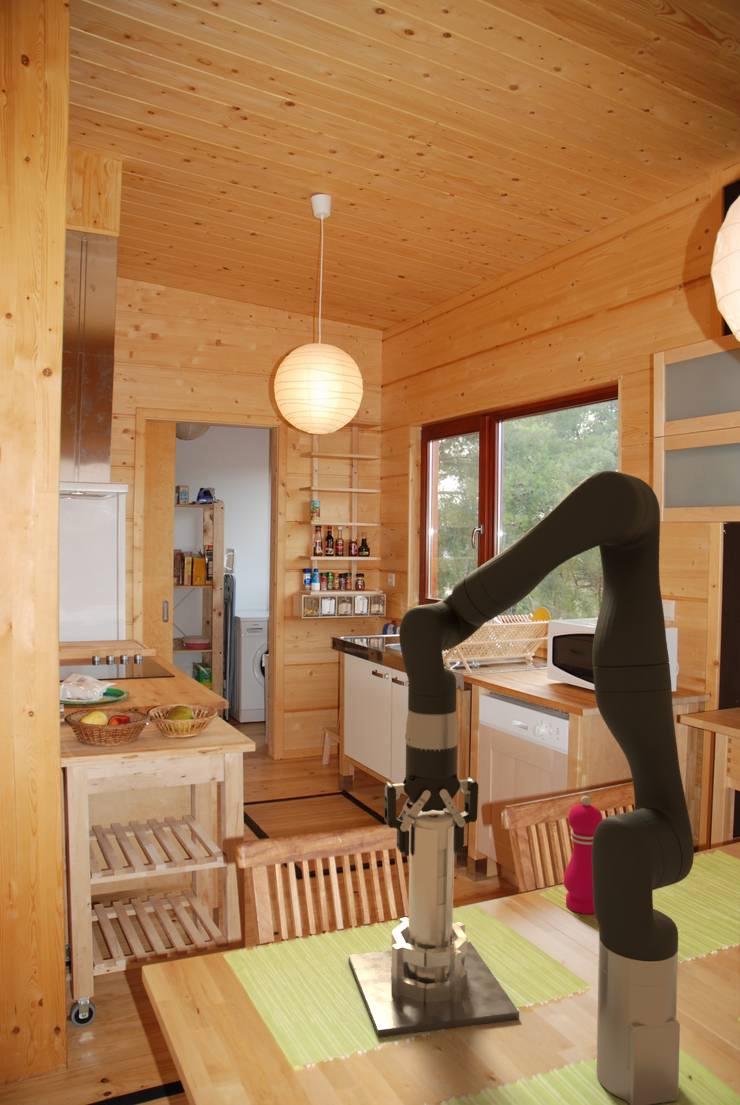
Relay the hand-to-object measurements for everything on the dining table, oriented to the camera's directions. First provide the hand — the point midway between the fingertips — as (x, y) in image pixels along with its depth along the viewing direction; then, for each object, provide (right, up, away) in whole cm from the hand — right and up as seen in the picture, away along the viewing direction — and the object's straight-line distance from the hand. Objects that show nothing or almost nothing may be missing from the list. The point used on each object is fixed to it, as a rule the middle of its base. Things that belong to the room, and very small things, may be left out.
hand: (430, 852), depth 124 cm
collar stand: (0, -20, +1) cm, 20 cm away
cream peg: (0, -19, +1) cm, 19 cm away
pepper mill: (+30, -20, +28) cm, 45 cm away
